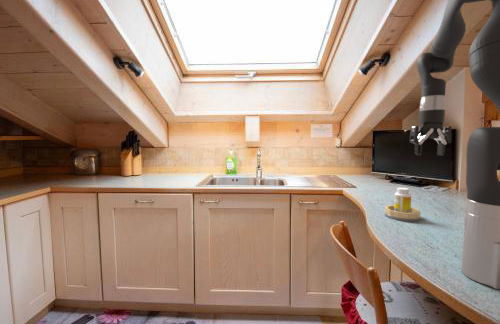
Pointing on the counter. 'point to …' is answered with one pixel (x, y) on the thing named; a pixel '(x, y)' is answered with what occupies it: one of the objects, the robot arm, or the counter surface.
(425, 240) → the counter surface
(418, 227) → the counter surface
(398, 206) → the supplement bottle
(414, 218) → the tan faceted ring
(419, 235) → the counter surface
